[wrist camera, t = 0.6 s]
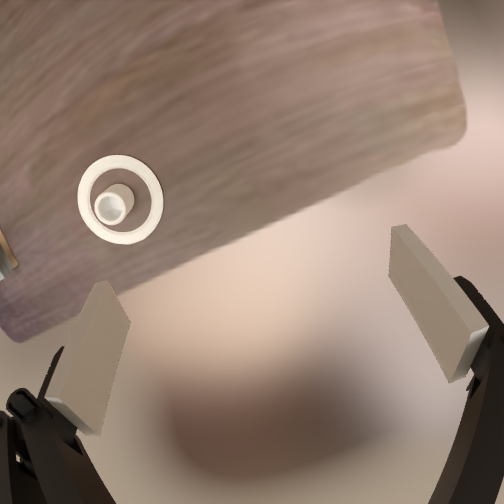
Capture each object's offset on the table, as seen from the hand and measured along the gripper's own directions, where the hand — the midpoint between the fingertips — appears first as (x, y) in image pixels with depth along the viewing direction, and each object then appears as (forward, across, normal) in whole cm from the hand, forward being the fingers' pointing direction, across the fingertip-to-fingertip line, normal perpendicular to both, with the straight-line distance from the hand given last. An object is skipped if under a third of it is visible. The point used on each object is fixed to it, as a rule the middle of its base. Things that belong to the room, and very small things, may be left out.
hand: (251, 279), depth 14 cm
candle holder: (+26, -16, -3) cm, 31 cm away
